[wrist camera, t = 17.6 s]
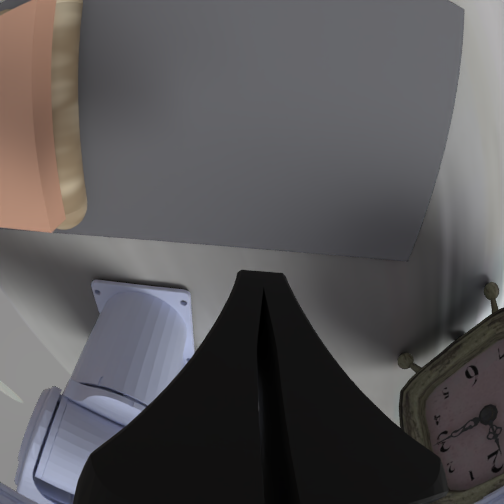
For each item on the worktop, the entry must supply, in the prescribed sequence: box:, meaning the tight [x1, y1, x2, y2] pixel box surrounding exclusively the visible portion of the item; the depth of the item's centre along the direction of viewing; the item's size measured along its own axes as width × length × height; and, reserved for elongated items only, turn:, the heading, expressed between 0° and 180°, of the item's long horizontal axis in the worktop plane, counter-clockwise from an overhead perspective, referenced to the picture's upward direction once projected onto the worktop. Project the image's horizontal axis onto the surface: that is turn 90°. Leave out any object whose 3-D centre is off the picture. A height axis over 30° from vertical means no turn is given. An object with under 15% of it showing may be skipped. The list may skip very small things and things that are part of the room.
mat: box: [0, 0, 464, 261], centre depth 14 cm, size 18×40×1 cm, turn 85°
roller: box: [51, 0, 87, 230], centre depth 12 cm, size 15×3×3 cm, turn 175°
